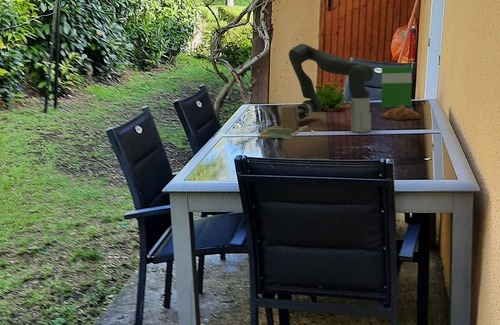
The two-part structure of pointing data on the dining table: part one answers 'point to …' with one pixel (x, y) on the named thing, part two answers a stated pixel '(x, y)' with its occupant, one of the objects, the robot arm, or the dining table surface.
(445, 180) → the dining table surface
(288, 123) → the walnut block
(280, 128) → the tray
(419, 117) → the pastry
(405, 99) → the hardback book
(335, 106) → the green leafy plant
